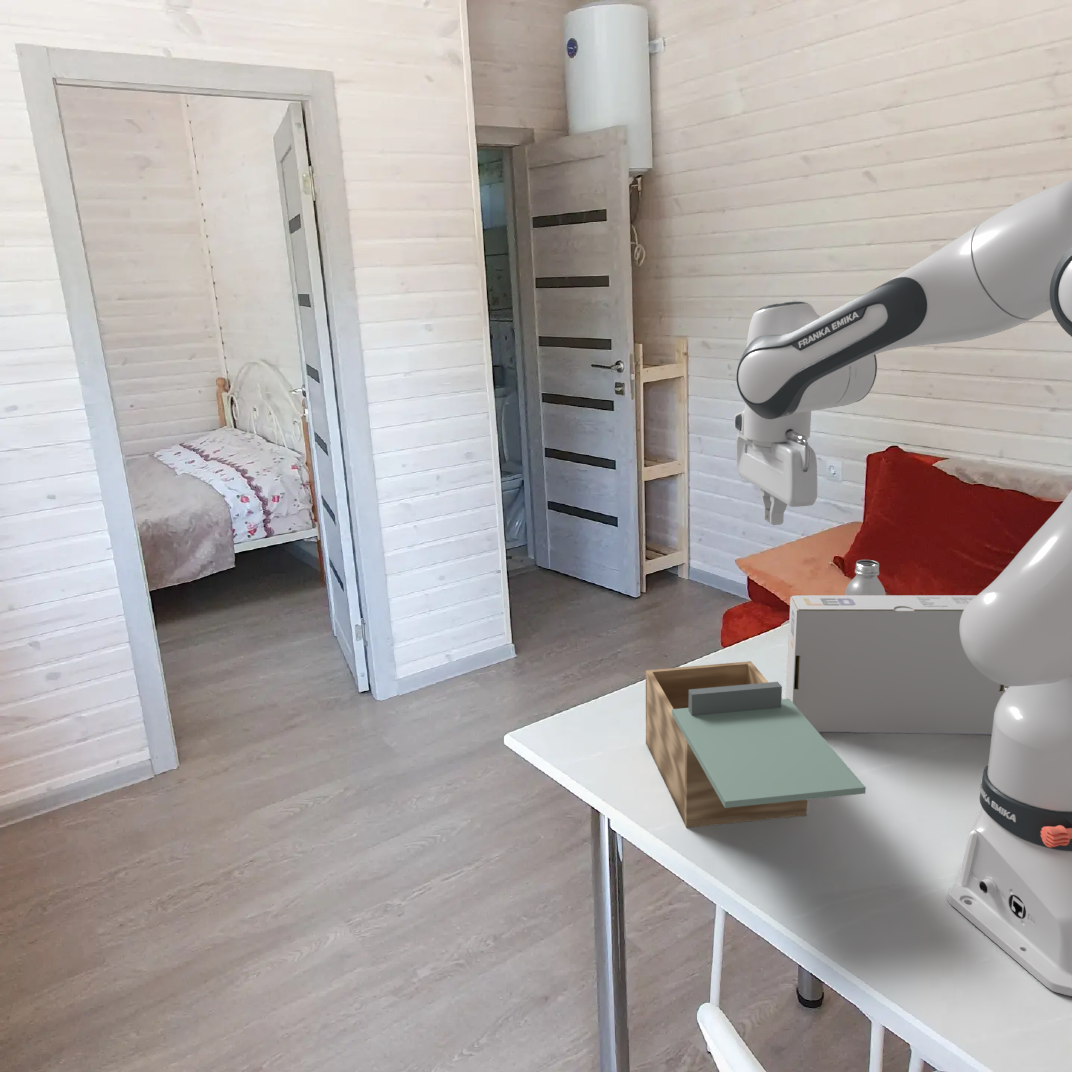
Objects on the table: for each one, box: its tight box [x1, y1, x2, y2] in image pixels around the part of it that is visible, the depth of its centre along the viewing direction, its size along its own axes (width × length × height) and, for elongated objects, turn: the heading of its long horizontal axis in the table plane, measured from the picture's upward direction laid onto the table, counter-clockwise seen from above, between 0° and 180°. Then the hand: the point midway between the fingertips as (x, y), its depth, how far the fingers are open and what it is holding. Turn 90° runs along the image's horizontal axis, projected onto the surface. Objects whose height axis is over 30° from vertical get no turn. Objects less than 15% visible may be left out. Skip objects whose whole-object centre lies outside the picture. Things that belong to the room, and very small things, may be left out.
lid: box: [672, 681, 867, 808], centre depth 111 cm, size 22×16×4 cm
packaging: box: [785, 594, 1006, 736], centre depth 139 cm, size 30×6×20 cm, turn 84°
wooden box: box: [645, 660, 808, 829], centre depth 127 cm, size 22×16×12 cm
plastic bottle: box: [844, 559, 887, 595], centre depth 156 cm, size 6×7×20 cm
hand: (773, 522), depth 129 cm, fingers closed
